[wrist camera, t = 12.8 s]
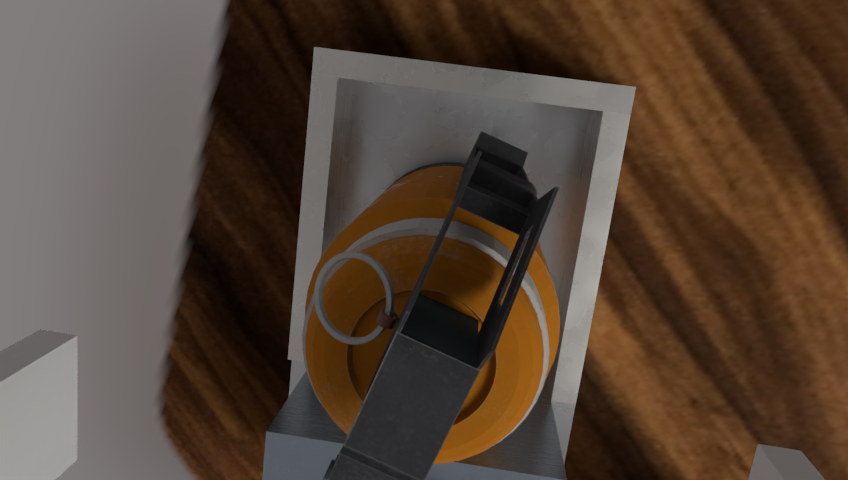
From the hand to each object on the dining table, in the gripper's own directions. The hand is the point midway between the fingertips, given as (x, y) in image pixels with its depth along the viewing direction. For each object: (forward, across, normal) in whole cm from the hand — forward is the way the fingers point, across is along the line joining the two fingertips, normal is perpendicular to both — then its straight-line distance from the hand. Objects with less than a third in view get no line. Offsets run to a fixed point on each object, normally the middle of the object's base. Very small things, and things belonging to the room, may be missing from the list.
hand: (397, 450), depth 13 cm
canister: (+24, 0, -1) cm, 24 cm away
